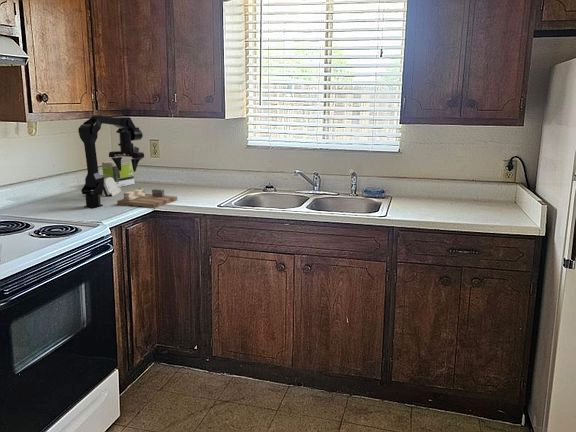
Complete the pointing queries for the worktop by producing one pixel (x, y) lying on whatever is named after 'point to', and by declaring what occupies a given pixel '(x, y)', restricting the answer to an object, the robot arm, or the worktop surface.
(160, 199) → the seat board
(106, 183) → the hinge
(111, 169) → the tea box
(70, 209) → the worktop surface
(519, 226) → the worktop surface
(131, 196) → the leg
